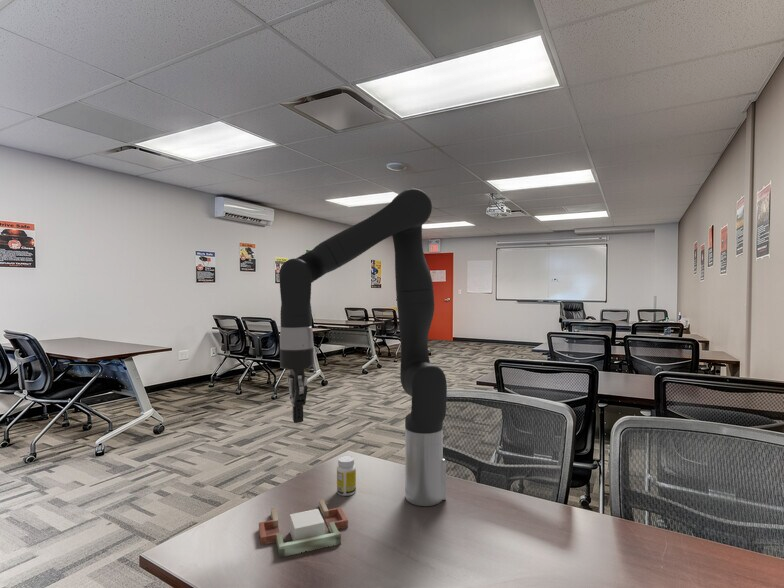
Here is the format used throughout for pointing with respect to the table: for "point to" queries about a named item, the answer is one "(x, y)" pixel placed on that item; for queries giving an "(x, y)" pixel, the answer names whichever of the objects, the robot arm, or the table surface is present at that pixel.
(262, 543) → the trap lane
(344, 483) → the supplement bottle
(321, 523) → the grey block
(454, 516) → the table surface
